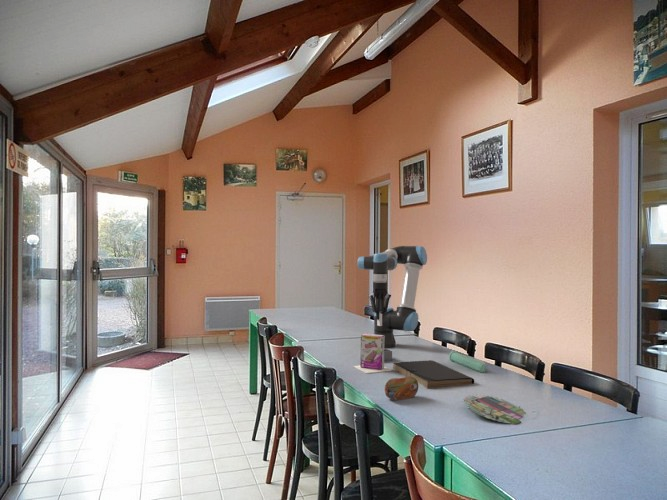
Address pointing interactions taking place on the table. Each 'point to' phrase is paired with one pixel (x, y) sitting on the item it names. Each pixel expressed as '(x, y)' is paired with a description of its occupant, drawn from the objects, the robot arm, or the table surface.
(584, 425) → the table surface
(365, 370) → the paper sheet
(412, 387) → the tin
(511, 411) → the city model
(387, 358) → the button housing
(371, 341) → the candy bar box
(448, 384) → the dark brown book
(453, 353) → the container
